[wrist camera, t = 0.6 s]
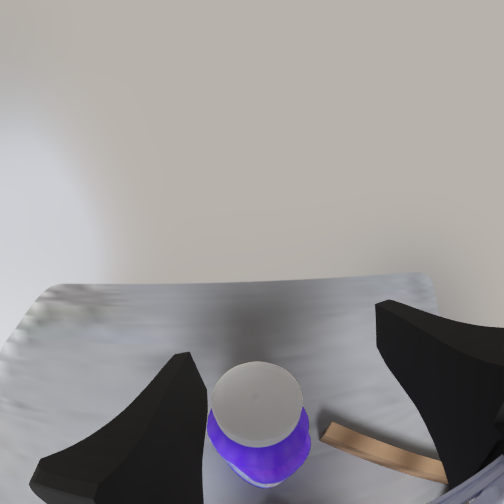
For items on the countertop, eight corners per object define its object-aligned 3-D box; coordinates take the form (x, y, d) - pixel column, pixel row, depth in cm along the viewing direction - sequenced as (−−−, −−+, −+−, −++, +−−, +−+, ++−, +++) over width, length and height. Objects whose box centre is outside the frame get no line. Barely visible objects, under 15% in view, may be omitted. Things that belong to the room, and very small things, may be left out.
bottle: (211, 449, 23) (158, 382, 12) (254, 416, 26) (248, 318, 15) (263, 497, 19) (271, 499, 8) (306, 460, 22) (362, 405, 11)
